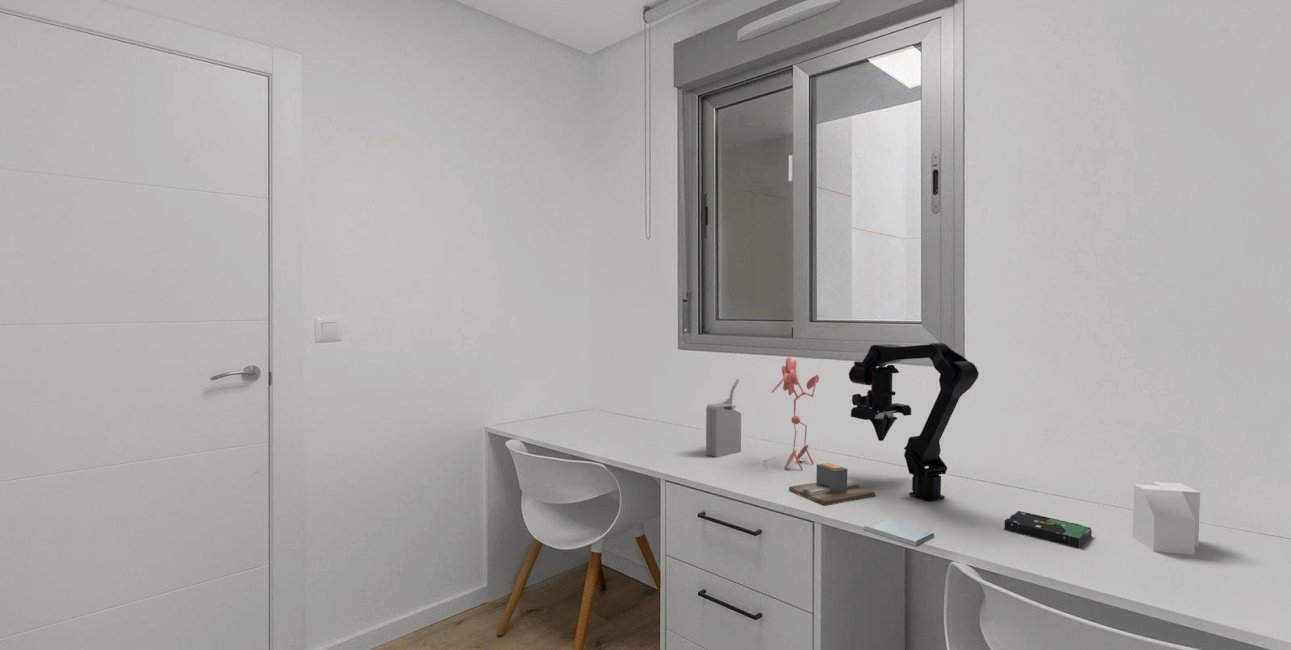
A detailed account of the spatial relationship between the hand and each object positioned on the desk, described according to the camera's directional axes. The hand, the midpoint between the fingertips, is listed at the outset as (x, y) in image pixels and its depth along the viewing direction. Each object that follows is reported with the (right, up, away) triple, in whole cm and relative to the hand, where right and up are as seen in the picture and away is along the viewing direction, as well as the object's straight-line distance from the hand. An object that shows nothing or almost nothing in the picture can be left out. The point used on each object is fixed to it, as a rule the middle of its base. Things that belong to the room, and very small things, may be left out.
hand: (880, 440), depth 179 cm
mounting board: (-18, -12, -11) cm, 24 cm away
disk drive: (+23, -14, -40) cm, 48 cm away
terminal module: (-18, -11, -11) cm, 24 cm away
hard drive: (-11, -14, -40) cm, 44 cm away
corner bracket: (+45, -14, -45) cm, 65 cm away
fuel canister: (-41, -11, +34) cm, 54 cm away
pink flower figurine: (-23, -11, +19) cm, 32 cm away
